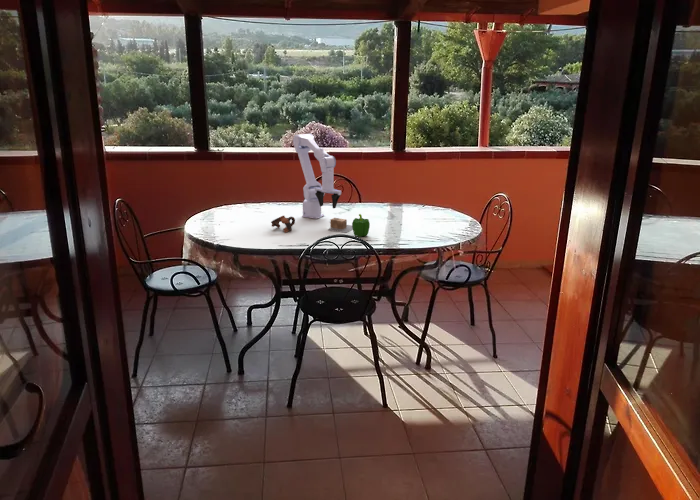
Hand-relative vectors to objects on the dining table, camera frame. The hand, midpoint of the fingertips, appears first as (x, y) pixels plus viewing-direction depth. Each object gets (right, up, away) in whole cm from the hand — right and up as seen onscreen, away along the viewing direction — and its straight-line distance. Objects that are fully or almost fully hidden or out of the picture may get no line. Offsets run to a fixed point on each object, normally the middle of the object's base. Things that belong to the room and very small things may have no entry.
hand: (327, 206), depth 279 cm
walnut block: (+3, -8, -5) cm, 10 cm away
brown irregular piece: (-21, -12, -10) cm, 26 cm away
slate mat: (+8, -11, -7) cm, 16 cm away
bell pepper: (+16, -15, -18) cm, 29 cm away
